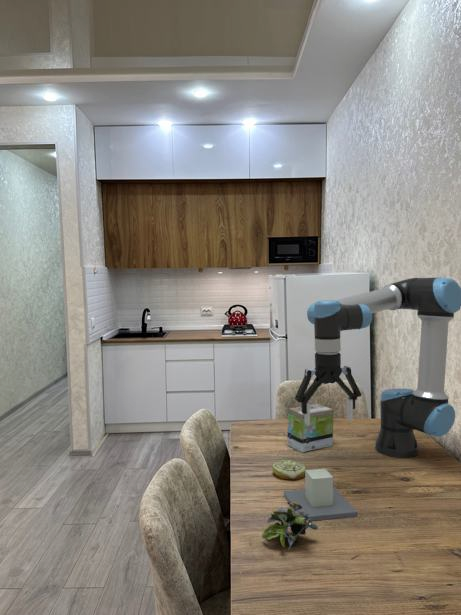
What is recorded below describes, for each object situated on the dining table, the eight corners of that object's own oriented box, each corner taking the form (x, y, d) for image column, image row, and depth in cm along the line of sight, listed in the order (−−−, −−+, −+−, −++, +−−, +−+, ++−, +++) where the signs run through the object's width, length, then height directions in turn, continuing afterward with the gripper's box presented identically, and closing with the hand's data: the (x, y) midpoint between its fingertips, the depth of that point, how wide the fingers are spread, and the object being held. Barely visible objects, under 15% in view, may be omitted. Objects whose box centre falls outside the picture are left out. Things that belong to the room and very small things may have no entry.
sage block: (324, 495, 138) (325, 468, 137) (332, 505, 132) (333, 477, 131) (305, 497, 137) (305, 470, 136) (312, 506, 131) (312, 478, 130)
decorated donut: (296, 484, 148) (296, 473, 148) (267, 476, 154) (267, 465, 154) (310, 473, 157) (310, 462, 157) (281, 466, 163) (281, 455, 163)
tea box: (303, 453, 174) (303, 414, 173) (286, 445, 183) (286, 408, 182) (333, 446, 182) (334, 408, 181) (316, 438, 190) (316, 402, 189)
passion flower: (294, 556, 119) (322, 518, 119) (291, 574, 108) (321, 532, 108) (259, 525, 122) (286, 488, 122) (252, 540, 111) (282, 499, 111)
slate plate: (334, 490, 144) (334, 486, 144) (357, 516, 128) (357, 511, 128) (283, 494, 141) (283, 490, 141) (300, 521, 125) (300, 517, 125)
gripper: (360, 347, 146) (361, 414, 148) (283, 352, 141) (285, 422, 143) (372, 351, 139) (373, 421, 140) (291, 357, 134) (293, 430, 135)
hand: (328, 422), depth 142 cm, fingers open, 13 cm apart
